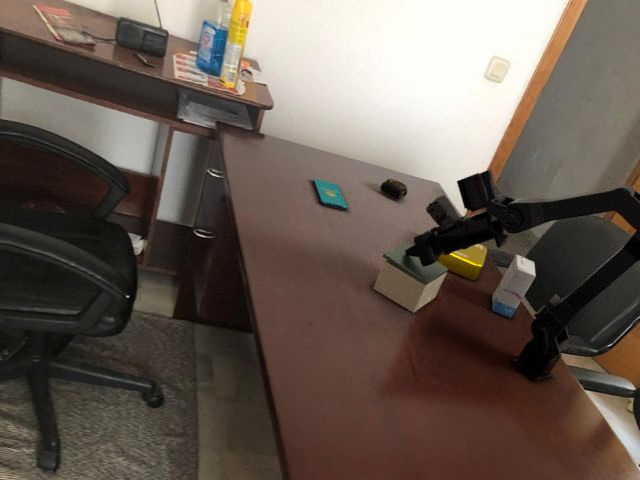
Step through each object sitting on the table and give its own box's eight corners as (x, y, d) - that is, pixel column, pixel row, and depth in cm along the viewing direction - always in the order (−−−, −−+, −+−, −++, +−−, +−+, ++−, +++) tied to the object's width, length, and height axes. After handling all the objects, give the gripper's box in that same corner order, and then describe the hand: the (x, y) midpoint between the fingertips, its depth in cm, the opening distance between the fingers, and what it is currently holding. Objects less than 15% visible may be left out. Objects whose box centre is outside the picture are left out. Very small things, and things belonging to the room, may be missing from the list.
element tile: (419, 258, 164) (427, 241, 161) (429, 238, 176) (436, 222, 173) (474, 282, 163) (483, 266, 160) (481, 261, 175) (489, 245, 172)
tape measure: (377, 192, 190) (381, 179, 188) (389, 189, 195) (393, 176, 193) (396, 203, 188) (401, 190, 186) (407, 199, 193) (412, 187, 190)
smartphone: (338, 184, 182) (348, 207, 171) (337, 186, 183) (347, 210, 172) (313, 178, 180) (321, 202, 169) (312, 181, 180) (321, 205, 170)
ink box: (511, 319, 154) (537, 275, 147) (491, 311, 154) (516, 267, 147) (510, 303, 161) (535, 260, 154) (491, 295, 161) (515, 252, 153)
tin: (373, 288, 144) (384, 261, 140) (396, 275, 153) (407, 249, 149) (413, 312, 142) (425, 285, 137) (434, 298, 150) (447, 272, 146)
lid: (382, 256, 140) (383, 253, 139) (405, 244, 148) (407, 241, 148) (425, 285, 137) (427, 282, 137) (447, 272, 146) (448, 268, 145)
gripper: (476, 184, 138) (412, 208, 148) (442, 199, 124) (374, 224, 134) (491, 236, 141) (427, 256, 150) (459, 256, 127) (391, 277, 137)
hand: (406, 252), depth 143 cm, fingers closed, pressing on lid
